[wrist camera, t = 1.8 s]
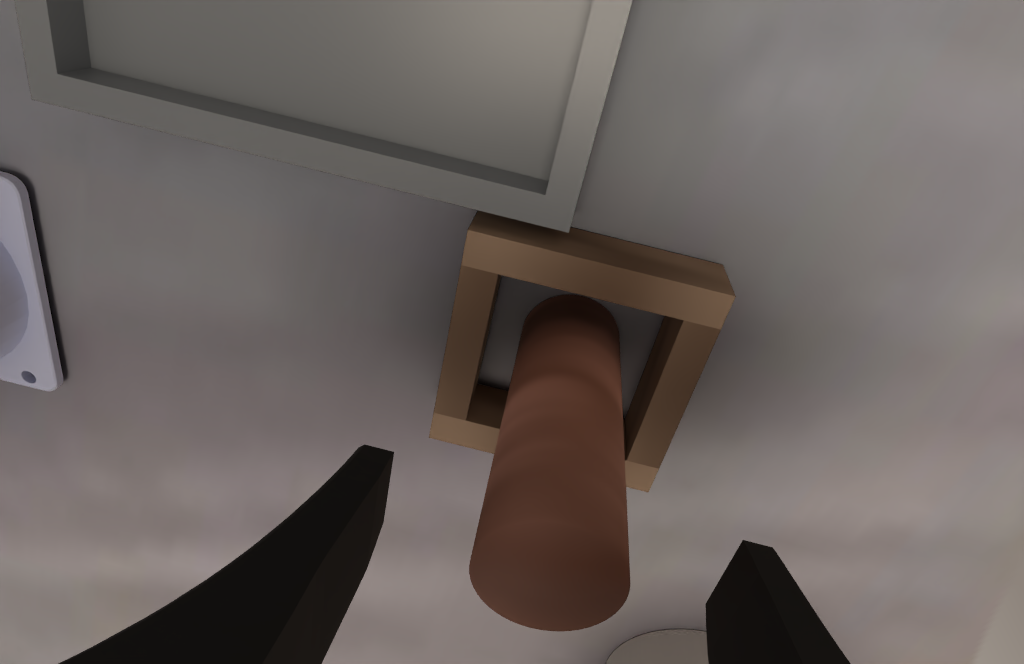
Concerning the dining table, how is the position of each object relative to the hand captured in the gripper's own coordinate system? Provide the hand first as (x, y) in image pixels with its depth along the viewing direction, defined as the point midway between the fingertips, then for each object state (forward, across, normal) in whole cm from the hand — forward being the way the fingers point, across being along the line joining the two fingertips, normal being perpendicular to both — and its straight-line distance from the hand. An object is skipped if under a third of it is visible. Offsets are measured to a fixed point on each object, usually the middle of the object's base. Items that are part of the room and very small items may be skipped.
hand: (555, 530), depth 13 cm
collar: (+8, 0, 0) cm, 8 cm away
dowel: (+8, 0, 0) cm, 8 cm away
